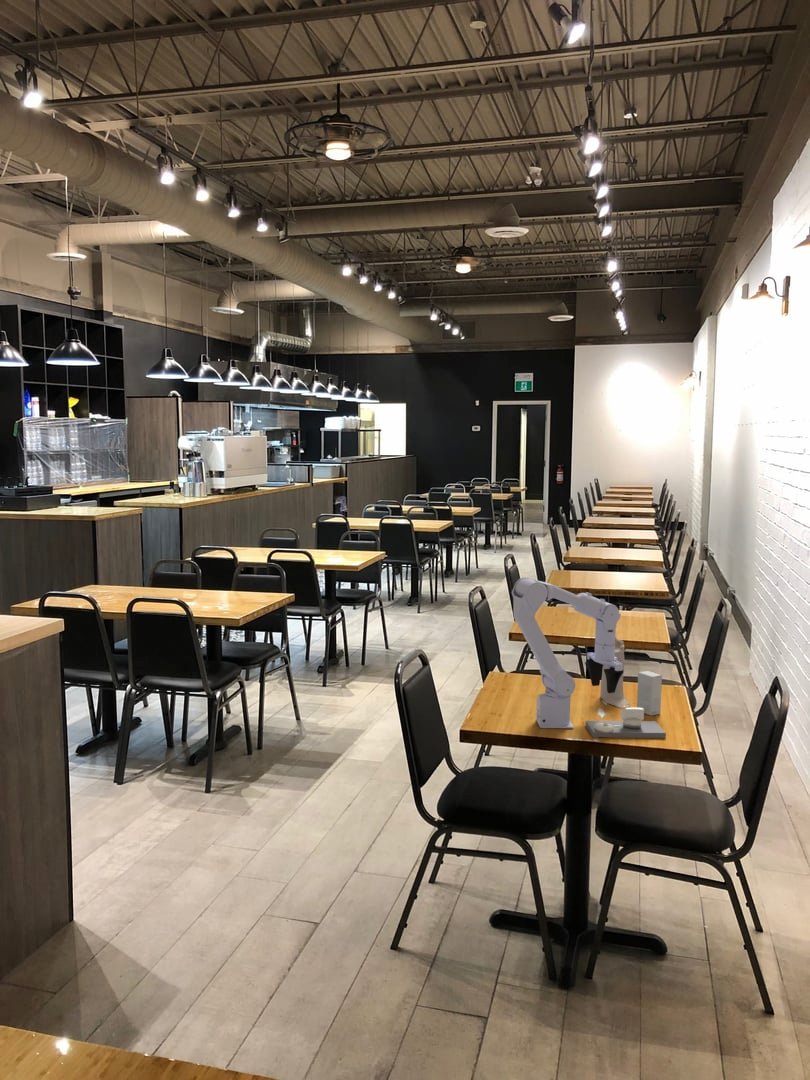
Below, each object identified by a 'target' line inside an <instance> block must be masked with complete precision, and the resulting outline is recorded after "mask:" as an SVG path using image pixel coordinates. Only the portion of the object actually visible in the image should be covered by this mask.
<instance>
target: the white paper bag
mask: <svg viewBox="0 0 810 1080" xmlns="http://www.w3.org/2000/svg"><path fill="white" fill-rule="evenodd" d="M615 657H617V661H618V662H620V663H621V664H623V666H622V669H623V670H624V669H625V642H624V641H623V640H621V639H618V638H617V636H615ZM604 669H610V667H608V666H605V665H603V668H602V671H601V678H600V696H599V697H600V699H602V700H603V701H604V700H605V701H604V702H605V703H607V704H608V705H610V704H611V706H615V707H616V708H620V709H621V707H622V705H624V706H625V707H626V708H631V707H630V705H629V704H630V702H629V700H627V698H625V694H624V693H625V692H624V673H623V674H622V675H621V677H620V679H619V681H618V683H617V687H616V690H615V693H608V692H607V680H606V675H605V672H604ZM624 671H625V670H624Z"/></svg>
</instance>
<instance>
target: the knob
mask: <svg viewBox="0 0 810 1080" xmlns="http://www.w3.org/2000/svg"><path fill="white" fill-rule="evenodd" d="M620 709H621V712H620V713H621V714H620V719H621V721H623V726H624V727H627V728H632V729H638V728H641V722H642V721H645V713H644V709H643V708H637V707H625V706H624V705H622V707H621V708H620Z"/></svg>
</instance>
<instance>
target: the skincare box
mask: <svg viewBox="0 0 810 1080" xmlns="http://www.w3.org/2000/svg"><path fill="white" fill-rule="evenodd" d="M662 679H663V675H662V674H659V673H656V672H652V671H649V670H646V671H638V673H637V692H636V693H637V695H636V696H637V698H636V708H643V709H644V715H648V716H655V715H656V716H657V715H660V714H661V712H662V711H661V709H662V707H661V706H662V705H661V704H662V683H663V680H662Z"/></svg>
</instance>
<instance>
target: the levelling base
mask: <svg viewBox="0 0 810 1080" xmlns="http://www.w3.org/2000/svg"><path fill="white" fill-rule="evenodd" d="M584 724H585V728H586V729H587V730H588V732H589V731H590V732H589V733H590V735H591V734H592V735H591V736H592V737H609V738H610V739H666V737H667V733H666V731H665V730H664V729H663V728H662V727H661V726H660V725H659V724H658V722H656V720H654V721H653V720H642V722H641V728H638V729H632V728H627V727H624V726H623V720H585V723H584ZM611 737H612V738H611ZM613 737H614V738H613ZM609 738H608V739H609Z"/></svg>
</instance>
